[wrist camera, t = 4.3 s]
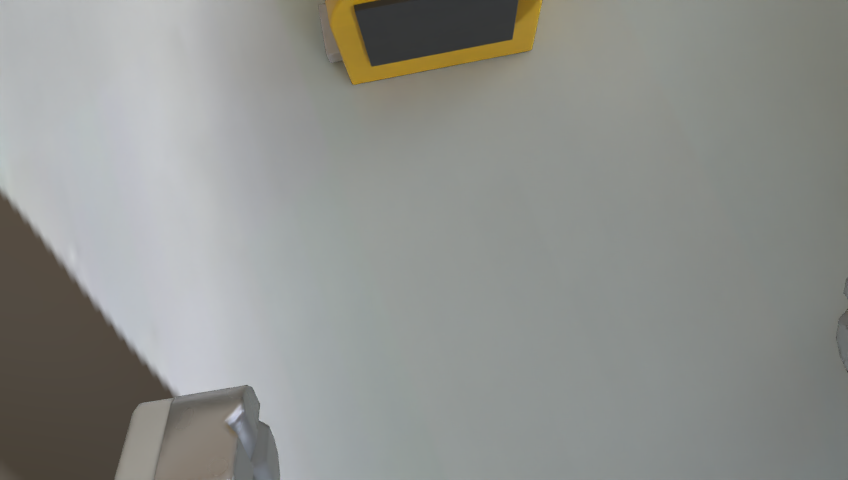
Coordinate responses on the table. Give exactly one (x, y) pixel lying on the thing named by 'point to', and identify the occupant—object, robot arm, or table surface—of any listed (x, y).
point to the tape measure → (423, 33)
